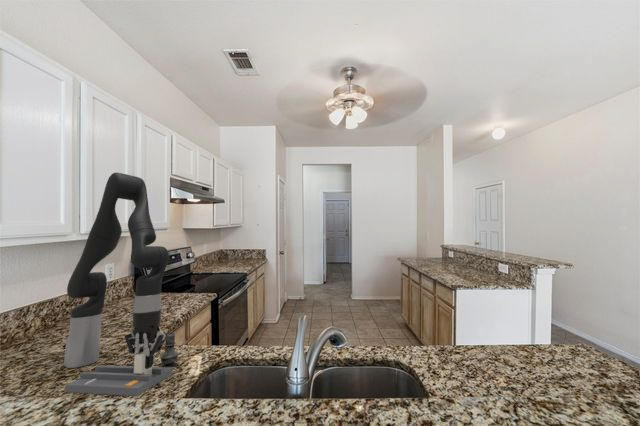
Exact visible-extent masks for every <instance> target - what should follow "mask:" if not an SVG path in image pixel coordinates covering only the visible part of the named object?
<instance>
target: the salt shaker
mask: <svg viewBox="0 0 640 426" xmlns="http://www.w3.org/2000/svg"><path fill="white" fill-rule="evenodd" d="M175 337H176V335H175V333H173V332H172V329H171V330H169V332H168V333H167V337H166V339H165V342H164V344H163V346H164V352H163V354H161V355H160V357H159V359H160V361H161V366H160V367H173V368H175V367H177V365H178V363H177V359H178V356H179V352H177V351H176V350H175V346H176V342H175ZM176 363H177V364H176Z"/></svg>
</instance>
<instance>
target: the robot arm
mask: <svg viewBox="0 0 640 426" xmlns="http://www.w3.org/2000/svg"><path fill="white" fill-rule="evenodd" d="M119 199H121V200H127V201H133V203H134V206H135V207H134V209H133V211H132V213H131V214H130V216H129V218H128V221H127V227H128V229H127V230H128V232H129V235H130V239H131V254H130V263H131V265H132V266H133V267H134V268H137V269H151V270H150V272H149V273H148V274H144V275H141V276H140V277H138V278H136V283H135V294H134V295H135V296H134V302H133V310H132V327H133V330H132V332H130V333H128V334H125V335H124V339H125V344H126V345H127V348H128V351H129V354H133V355H134V356H135V355H137V354H139V353H141V352H144V351H146V358H145V369H148V368H150V367H152V365H153V363H154V364H155V354H157V353H159V352H161V350H162V347H163V346H164V344H165V343H166V337H167V334H168V333H167V332H164V333H163V332H162V331H161V329H160V323H161V322H162V321H161V319H162V317H161V316H162V284H163V283H162V281H163V278H164V275H165V271H166V268H167V267H168V263H169V260H170V259H169V258H170V254H169V251H168V249H167V248H166V247H165V246H163V245H158V246H157V245H156V246H155V245H154V246H153V245H152V244H153V243H155V242H156V240H157V234H156V231H155V228H154V225H153V222H152V219H151V216H150V207H149V200H148V199H149V198H148V192H147V186H146V182H145V180H143V178H141V177H139V176H135V175H130V174H126V173H121V172H113V173H111V175H110V176H109V177H108V179H107V181H106V184H105V188H104V191H103V195H102V198H101V202H100V205H99V208H98V212H97V214H96V217H95V220H94V222H93V224H92V226H91V229H90V231H89V234H88V236H87V238H86V241H85V245H84V247H83V250H82V253H81V256H80V258H79V261H77V264H76V265H75V268H74V270H73V272H72V274H71V276H70V278H69V281H68V284H67V288H66V292H67V295H68V297H69V298H71V299H82V298H88V300H87V301H86V302H84V303H82V304H81V305H79V306H77V307H74V308H73V309H72V310H71V311H70V318H69V321H70V322H69V331H68V337H67V338H66V339H65V350H64V359H63V366H64V367H65V368H67V369H73V368H81V367H85V366H88V365H89V366H90V365H92V364H94V363H96V362H98V361H99V357H100V347H101V346H100V345H101V344H100V343H101V335H102V334H101V332H102V331H101V330H102V318H103V317H102V316H103V308H104V306H105V301H106V300H105V298H106V291H107V285H108V279H107V274H105V272H102V271H97V272H92V270H93V269H94V268H95V266H97V265H98V264H99V263H100V262H102V260H104V259H105V258H106V257H108V256H110V254H111V253H112V252H114V250H116V248H117V246H118V244H119V241H120V239H121V236H122V232H123V231H122V225H121V223H120V221H119V219H118V215H117V212H116V205H117V201H118V200H119ZM151 245H152V246H151Z"/></svg>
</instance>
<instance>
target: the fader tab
mask: <svg viewBox="0 0 640 426" xmlns="http://www.w3.org/2000/svg"><path fill="white" fill-rule="evenodd" d="M145 358H146V350H144V352H141V353H139V354H137V355H135V354H134V362H133V366H134V373H136V374H152V367H155V362H154V363H153V365H152V367H150V368H148V369H145Z"/></svg>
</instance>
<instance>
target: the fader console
mask: <svg viewBox="0 0 640 426" xmlns="http://www.w3.org/2000/svg"><path fill="white" fill-rule="evenodd" d="M173 370H174V367H161V366H154V367H152V374H136V373H134V365H111V364H110V365H97V366H95V370H94V371H83V372H81V373H80V374H79V378H78V379H76V380H74V381H71V382H69V383H67V384H66V385H65V389H64V392H65V393H67V394H70V393H71V394H88V395H89V394H91V395H105V396H106V395H108V396H109V395H110V396H128V397H129V396H132V397H138V396H140V395H142V394H143V393H145V392H146V391H148V390H149V389H151V388H153V387H155V385H158V384H160V383H161V382H162V381H163V380H166V379H167V378H168V377H170V376H171V375H173Z"/></svg>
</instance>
